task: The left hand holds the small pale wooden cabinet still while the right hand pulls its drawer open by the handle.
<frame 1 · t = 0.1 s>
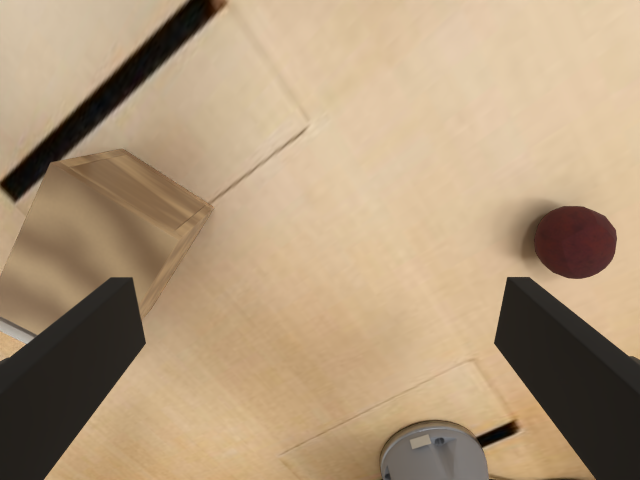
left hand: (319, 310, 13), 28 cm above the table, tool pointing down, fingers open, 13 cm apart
cabinet: (138, 235, 41), on the table
drawer: (88, 296, 38), point 5 cm above the table, slide at 1.5 cm
dark maroon ball: (552, 230, 41), on the table
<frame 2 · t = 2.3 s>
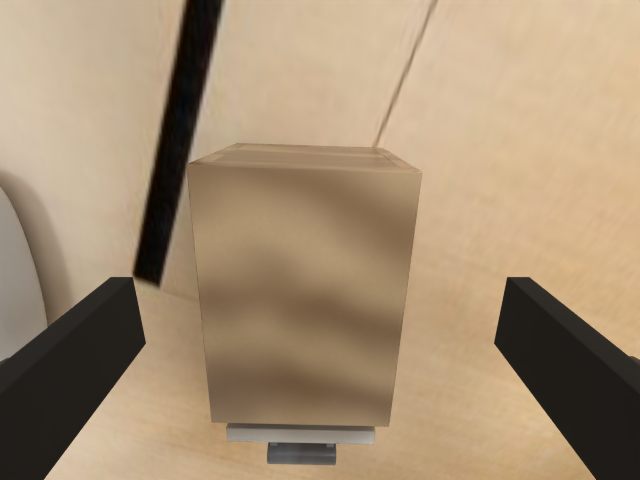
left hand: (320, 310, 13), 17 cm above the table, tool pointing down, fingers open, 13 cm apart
cabinet: (308, 244, 30), on the table
drawer: (304, 346, 27), point 5 cm above the table, slide at 1.5 cm
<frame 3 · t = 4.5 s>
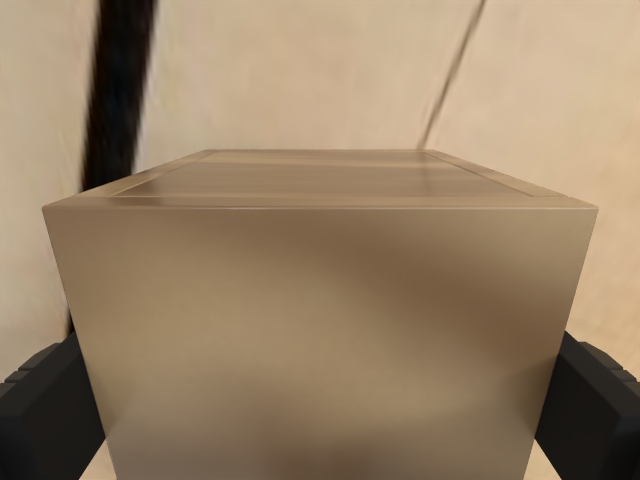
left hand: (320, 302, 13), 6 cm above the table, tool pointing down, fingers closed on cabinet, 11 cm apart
cabinet: (319, 296, 20), on the table, touching left hand
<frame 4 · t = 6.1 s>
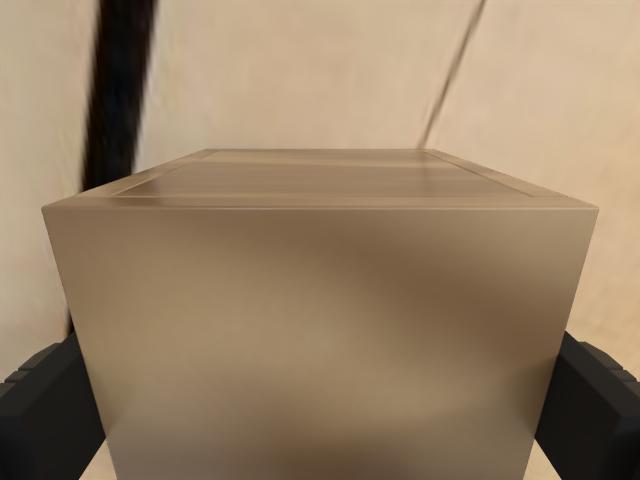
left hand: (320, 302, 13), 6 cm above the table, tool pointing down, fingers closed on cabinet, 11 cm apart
cabinet: (320, 295, 20), on the table, touching left hand
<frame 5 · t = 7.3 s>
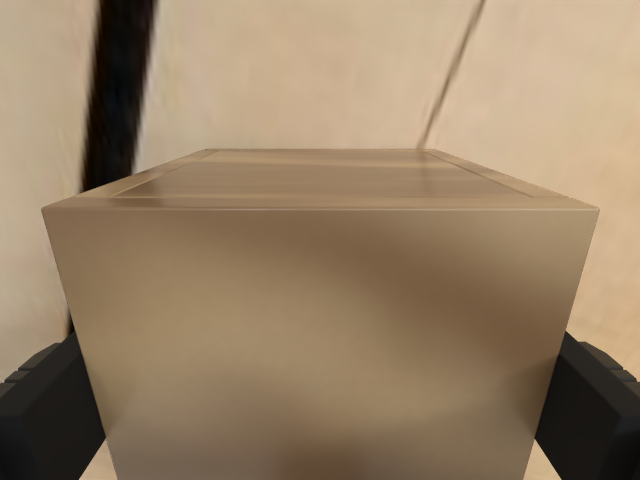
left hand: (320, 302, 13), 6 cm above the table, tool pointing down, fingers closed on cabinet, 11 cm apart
cabinet: (320, 295, 20), on the table, touching left hand
when the left hand's fingers open (6 cm above the table, at t = 9.4 s): cabinet stays where it is, on the table.
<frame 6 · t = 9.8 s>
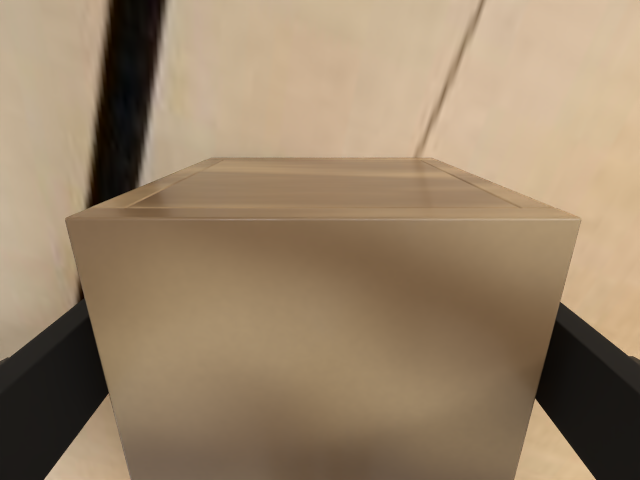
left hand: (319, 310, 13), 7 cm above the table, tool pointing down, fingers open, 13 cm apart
cabinet: (321, 299, 21), on the table
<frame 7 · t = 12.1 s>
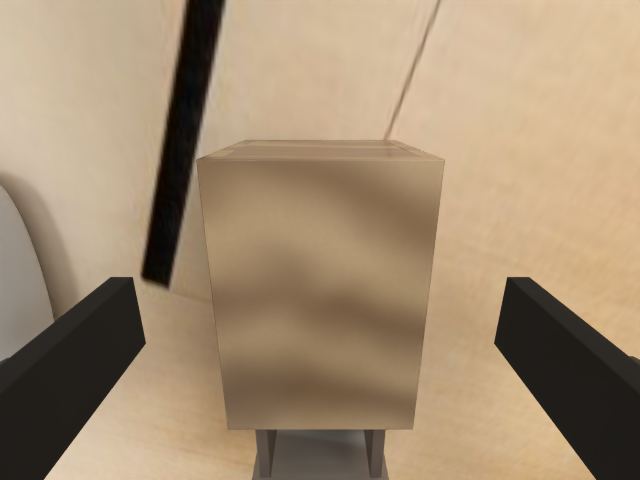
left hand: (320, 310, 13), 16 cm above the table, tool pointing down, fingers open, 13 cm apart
cabinet: (320, 242, 29), on the table
drawer: (320, 407, 28), point 5 cm above the table, slide at 7.2 cm
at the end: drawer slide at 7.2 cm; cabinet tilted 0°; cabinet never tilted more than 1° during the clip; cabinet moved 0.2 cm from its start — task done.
